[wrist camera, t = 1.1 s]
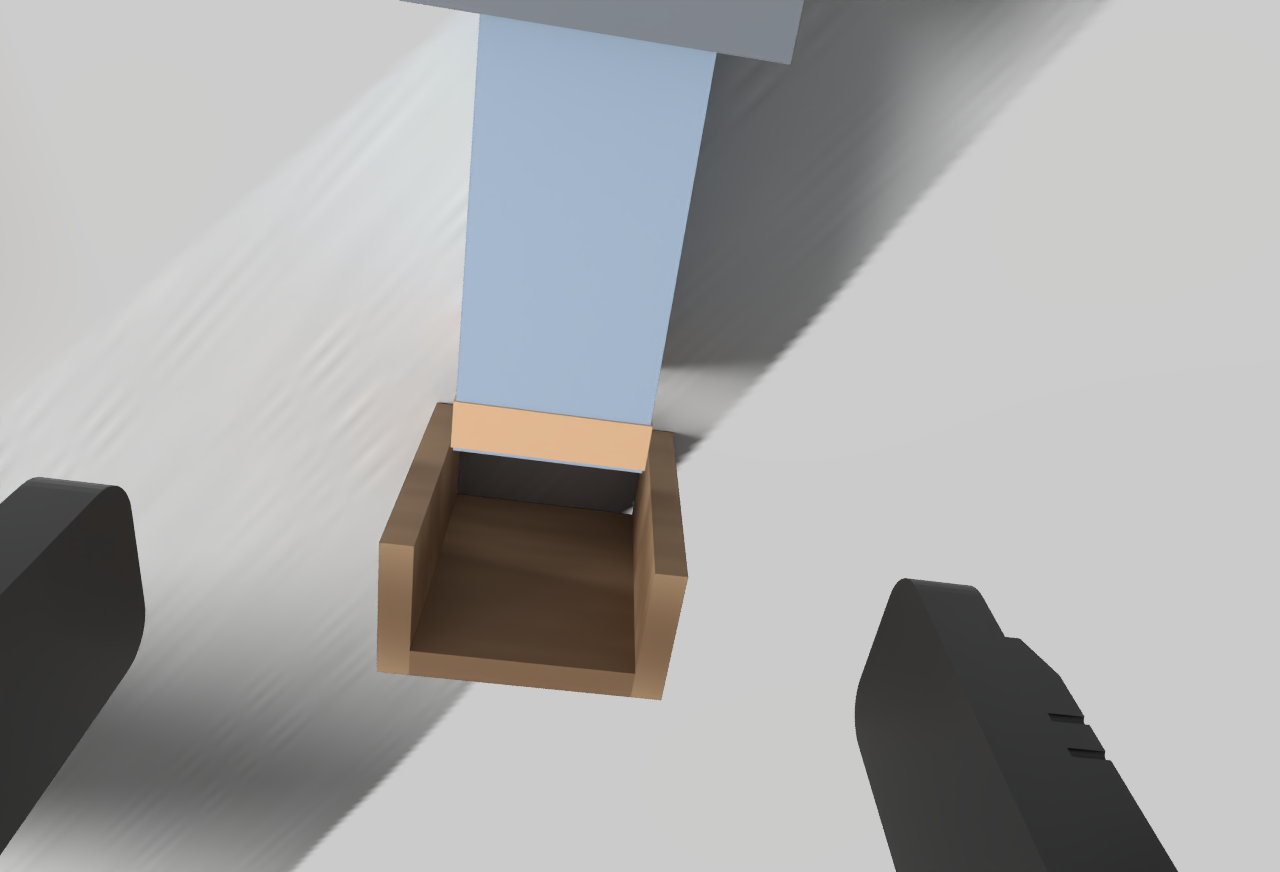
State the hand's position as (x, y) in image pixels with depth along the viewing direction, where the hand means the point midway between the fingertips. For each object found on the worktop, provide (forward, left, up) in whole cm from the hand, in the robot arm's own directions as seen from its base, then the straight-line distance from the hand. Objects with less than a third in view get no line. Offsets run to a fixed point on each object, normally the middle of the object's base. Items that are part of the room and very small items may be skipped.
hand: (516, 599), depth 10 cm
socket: (-6, -6, -17) cm, 19 cm away
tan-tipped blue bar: (+2, +2, -17) cm, 17 cm away
